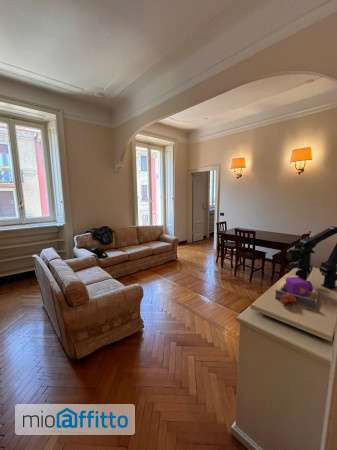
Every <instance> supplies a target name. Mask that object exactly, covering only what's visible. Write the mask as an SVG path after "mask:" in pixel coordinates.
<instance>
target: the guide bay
mask: <svg viewBox="0 0 337 450" xmlns="http://www.w3.org/2000/svg"><path fill="white" fill-rule="evenodd" d="M285 290H286V282H284V283H283V284H282V286H281V287H280V288H279V289H276V290H275V299H276V300H278V301H279V300H280V301H281V297H282V295H283V294H285V292H286V294H287V293H288V292H287V291H285ZM290 294H291V293H290ZM292 295H293V296H295V298H296V300H297V302H296V303H295V304H294V305H296V306H300V307H303V308H307V309H310V310H314V311H315V310H316V307H317V305H318V302H319V299H320V297H321V291H320V290H319V291H318V292H317V293H316V296H315V298H309V297H302V296H299V295H295V294H292Z"/></svg>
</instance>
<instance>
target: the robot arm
mask: <svg viewBox="0 0 337 450" xmlns="http://www.w3.org/2000/svg"><path fill="white" fill-rule="evenodd" d="M336 234H337V226H333V225H331V226H329V227H328V228H326V229H324V230H322V231H321V232H319V233H317V234H315V235H313V236H310V237H306V238H302V239H300V240H299V241H298V242H299V243H298V244H297V245H296V246H295V247H294V249H291V248H290V249H288V251H287V252H286V258H287V260H289V261H291V262H290V263H288V267H289V268H290V269H291V270H293V269H297V270H296V271H295V277H301V278H302V279H304V280H306V281H308V279H309V277H310V275H311V273H312V271H313V269H314V266H313V265H312V264H311V263H312V260H311V259H312V254H315V253H316V252H315V251H314V250H313V249H314V248H315V247H316V246H317V245H318V244H319V243H320V242H323V241H325V240H327V239H329V238H330V237H332V236H334V235H336ZM319 272H320V274H321V275H322V276H323V278H324V279H323V283H322V284H320V285H321V287H324V288H326V289H329V290H334V289H337V285H336V283H337V242H336V244H335V245H334V247H333V249H332V250H331V253H330V255H329V257H328V258H327V261H321V263H320V265H319Z"/></svg>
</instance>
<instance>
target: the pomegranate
mask: <svg viewBox="0 0 337 450" xmlns="http://www.w3.org/2000/svg"><path fill="white" fill-rule="evenodd" d="M284 292H285V294H283V295H282V297H281V300H280V302H281V304H282V305H284V306H290V308H291V310H293V308H292V306H293V305H296V304H295V303H296V302H297V300H296V298H295V296H293V295H292V294H290V293H288V292H287V291H284ZM286 292H287V294H286Z"/></svg>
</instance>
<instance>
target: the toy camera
mask: <svg viewBox="0 0 337 450" xmlns="http://www.w3.org/2000/svg"><path fill="white" fill-rule="evenodd" d="M285 283H286V288H285V292H287V293H291V294H295V295H299V296H302V297H306V298H308V297H309V293H310V292H311V293H312V292H313V291H314V285H313V284H312V282H311V280H304V279H302V278H301V277H298V276H289V277H286V279H285Z"/></svg>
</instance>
